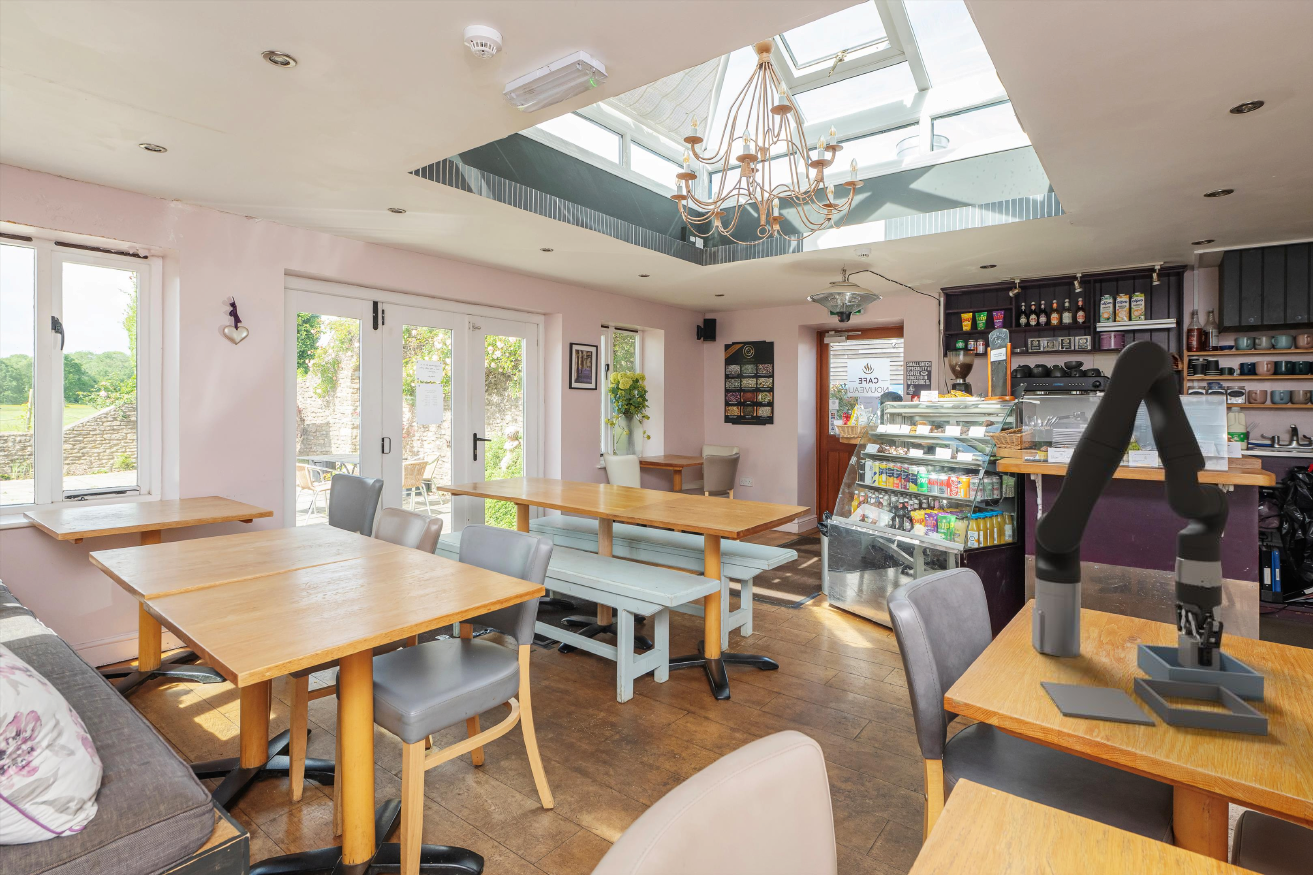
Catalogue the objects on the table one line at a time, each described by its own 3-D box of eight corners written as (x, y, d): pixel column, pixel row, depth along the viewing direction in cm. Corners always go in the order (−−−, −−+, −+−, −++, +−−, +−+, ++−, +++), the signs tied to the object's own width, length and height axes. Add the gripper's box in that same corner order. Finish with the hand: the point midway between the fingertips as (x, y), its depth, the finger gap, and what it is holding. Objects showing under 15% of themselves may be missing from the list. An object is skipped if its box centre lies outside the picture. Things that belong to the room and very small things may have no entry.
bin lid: (1062, 715, 119) (1062, 711, 119) (1040, 683, 133) (1040, 681, 133) (1154, 725, 115) (1155, 722, 115) (1121, 692, 129) (1121, 689, 129)
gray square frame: (1168, 724, 115) (1168, 708, 115) (1133, 691, 129) (1133, 676, 129) (1267, 735, 111) (1268, 718, 111) (1221, 700, 125) (1221, 685, 125)
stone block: (1190, 670, 132) (1190, 641, 131) (1178, 661, 136) (1178, 633, 136) (1219, 672, 130) (1219, 643, 130) (1206, 663, 135) (1206, 635, 135)
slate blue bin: (1168, 692, 128) (1168, 667, 128) (1137, 665, 142) (1137, 643, 142) (1263, 701, 124) (1264, 676, 124) (1221, 673, 138) (1222, 650, 138)
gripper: (1160, 571, 141) (1160, 647, 141) (1195, 587, 127) (1194, 672, 127) (1200, 572, 139) (1200, 650, 139) (1240, 589, 125) (1240, 675, 125)
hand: (1197, 660), depth 133 cm, fingers closed on stone block, 5 cm apart
